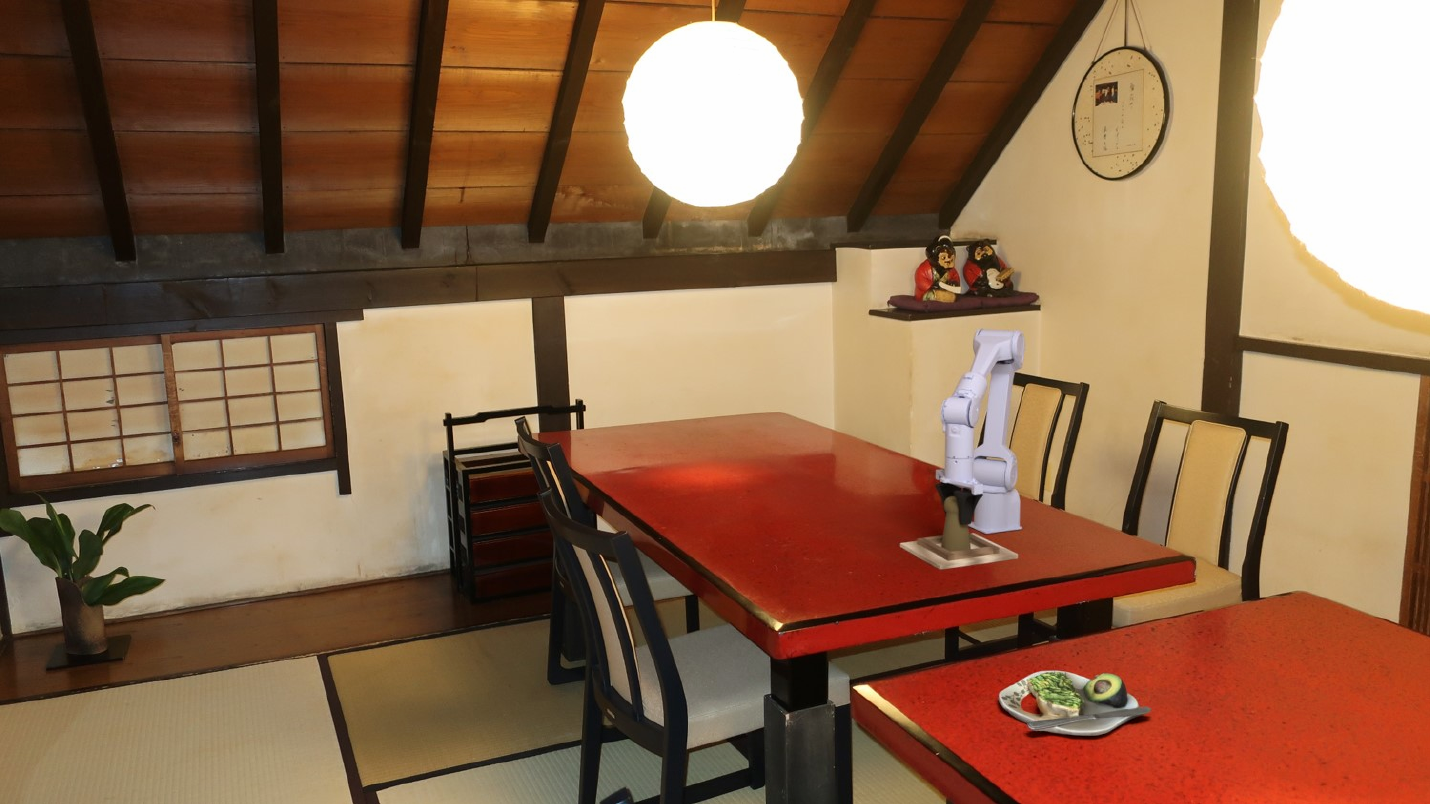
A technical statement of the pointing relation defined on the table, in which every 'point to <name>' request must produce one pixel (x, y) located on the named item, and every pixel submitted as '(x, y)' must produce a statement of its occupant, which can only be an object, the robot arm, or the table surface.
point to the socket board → (957, 552)
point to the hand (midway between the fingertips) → (958, 520)
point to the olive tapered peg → (954, 528)
